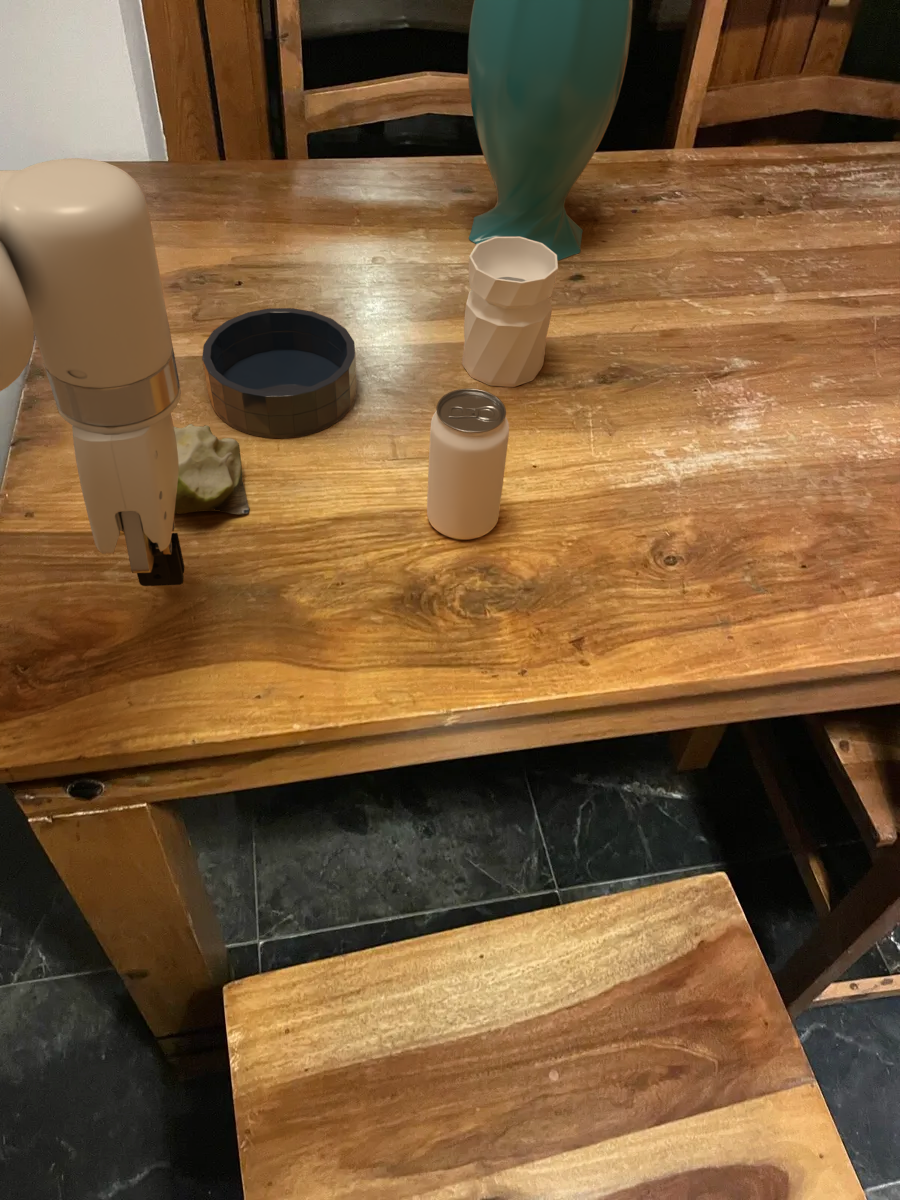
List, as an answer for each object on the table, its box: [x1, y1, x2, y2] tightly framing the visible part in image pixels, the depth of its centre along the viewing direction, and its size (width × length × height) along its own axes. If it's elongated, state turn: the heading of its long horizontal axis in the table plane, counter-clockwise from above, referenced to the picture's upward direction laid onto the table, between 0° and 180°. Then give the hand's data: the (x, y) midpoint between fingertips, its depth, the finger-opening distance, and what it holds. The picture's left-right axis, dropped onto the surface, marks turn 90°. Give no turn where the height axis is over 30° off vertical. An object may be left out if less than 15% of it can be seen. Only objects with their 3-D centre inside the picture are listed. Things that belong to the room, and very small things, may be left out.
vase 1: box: [467, 0, 633, 262], centre depth 106 cm, size 17×17×30 cm
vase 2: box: [461, 237, 559, 388], centre depth 95 cm, size 9×9×12 cm
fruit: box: [174, 423, 250, 516], centre depth 82 cm, size 9×9×8 cm
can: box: [426, 388, 510, 541], centre depth 79 cm, size 6×6×12 cm
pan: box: [201, 307, 357, 439], centre depth 93 cm, size 15×15×5 cm
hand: (162, 577), depth 71 cm, fingers closed
